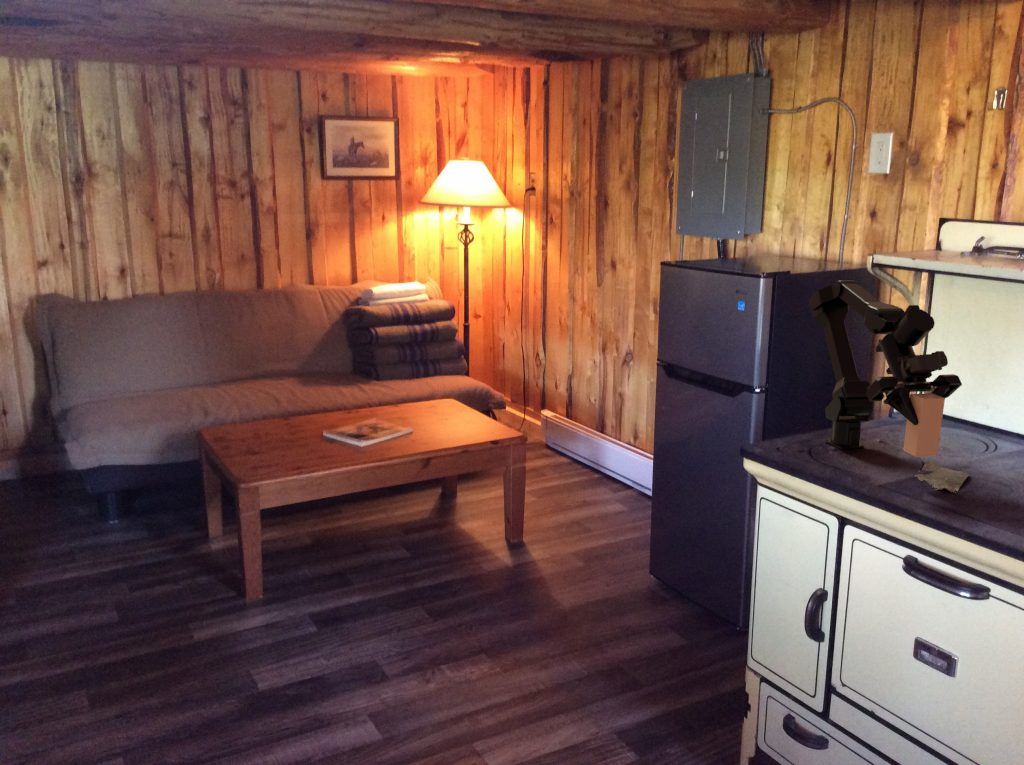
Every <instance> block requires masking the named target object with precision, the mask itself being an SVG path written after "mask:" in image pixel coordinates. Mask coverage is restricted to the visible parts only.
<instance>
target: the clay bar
mask: <svg viewBox="0 0 1024 765" xmlns="http://www.w3.org/2000/svg"><path fill="white" fill-rule="evenodd" d="M910 400H911V402H912V405H913V407H914V410H915V412H916V415H917V418H918V422H919V423H918V424H917V425H914V424H912V423H911V422H910V421H909V420H908V419H907V418H906V425H905V433H904V441H903V452H905V453H907V454H909V455H912V456H913V457H915V458H916V457H931V456H932V457H933V456H935V457H936V456H938V452H939V451H938V450H939V445H940V439H941V438H940V437H941V430H942V424H943V415H944V408H945V402H946V401H945V400H946V398H943V397H940V396H938V395H935V394H932V393H927V394H924V393H910Z"/></svg>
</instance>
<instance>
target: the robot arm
mask: <svg viewBox="0 0 1024 765" xmlns="http://www.w3.org/2000/svg"><path fill="white" fill-rule="evenodd" d="M808 306H809V309H810V311H811V314H812V318H813V320H814V321H816V322H817V324H818V325H820V327H822V328H823V333H824V335H825V339H826V344H827V348H828V353H829V356H830V360H831V365H832V370H833V373H834V374H833V375H834V377H835V382H836V383H835V386H834V389H833V391H832V393H831V394H832V395H831V396H832V400H831V401H830V403H829V404H828V405H827V406H826V407H825V409H824V412H825V418H826V419H828V420H829V421H831V423H832V424H831V425H832V426H831V435H830V439H825V441H824V442H825V443H826V444H829V445H831V446H833V447H836V448H837V449H839V450H850V449H860V448H861V449H862V448H865V444H862V443H861V434H862V429H861V427H862V422H869V421H870V418H871V415H872V413H873V410H874V408H875V402H881V401H883V404H884V405H888V406H890V407H891V408H892V409H894V410H895V411H896V412H898V413H899V414H901V415H902V416H903V417H904V419H906V420H907V419H908V420H909V421H910V422H911V423H912V424H914V425H917V424H918V423H919V422H918V418H917V415H916V412H915V410H914V407H913V405H912V402H911V400H910V394H911V393H915V392H916V393H919V392H922V394H927V393H932V394H935V395H938V396H940V397H943V398H945V399H947V398H949V397H950V396H952V395H953V394H954V393H955V392H956V391H957V390H958V389H959V388H960V387H961V386H962V385H963V384H962V382H961V379H960V377H959V375H958V374H957V375H956V374H954V373H951V374H948V373H947V374H939V375H938V376H937V377H935V378H934V380H932V381H927V379H930V378H931V377H932V376H933V374H932V372H936V371H941V370H943V367H947V366H948V364H949V360H948V357H947V355H946V353H945V351H943V350H940V351H939V350H936V351H935V352H931V353H928V354H927V353H924V354H916V352H915V350H914V348H913V347H916V346H918V345H919V344H920V343H921V342H922V341H923V339H925V337H927V335H928V334H929V333H930V332H931V331H932V330H933V329H934V328H935V322H936V321H935V320H934V317H933V316H931V314H930V313H929V312H927V311H926V310H923V309H921V308H920V306H919V305H918V304H909V305H908V307H907V308H906V309H905V310H904V309H903V308H901V307H899V306H897V305H894V304H889V303H886V302H885V303H884V302H882V301H880V300H879V299H878V298H876V297H875V296H874V295H872V294H871V293H870V292H868V291H867V290H866V289H864V288H863V287H862V286H860V284H859V282H858V281H856V280H853V279H851V280H850V279H849V280H848V279H846V280H845V279H842V280H841V279H840V280H837V281H834V282H833V283H831V284H829V285H828V286H825V287H823V288H820V289H818V290H816V291H815V292H814V293H813V294H812V295H811V296H810V297H809V301H808ZM849 307H850V308H851V309H853V311H855V312H856V313H858V315H860V316H861V317H862V318H863V325H864V326H865V328H866V329H867V331H868V332H869V333H870V334H871V335H884V336H883V337H882V339H879V340H878V343H877V344H876V346H875V353H882V354H883V356H884V358H885V361H886V364H887V365H888V367H887V368H886V370H885V371H886V375H888V376H877V378H875V380H873V381H872V383H870V382H869V381H868V380H862V379H861V378H860V377H859V374H858V371H857V366H856V363H855V358H854V355H853V350H852V346H851V343H850V340H849V339H850V338H849V336H848V331H847V327H846V322H845V321H846V318H847V316H848V313H849V311H850V310H849V309H850V308H849ZM889 375H892V376H889ZM884 394H885V395H884ZM885 397H886V398H885ZM884 398H885V399H884Z"/></svg>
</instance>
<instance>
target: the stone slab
mask: <svg viewBox="0 0 1024 765" xmlns="http://www.w3.org/2000/svg"><path fill="white" fill-rule="evenodd" d="M921 470H922V471H926V472H930V473H927V474H926V473H925V474H924V473H920V472H921ZM921 470H918V474H915V475H914V477H916V478H917V479H918V480H919V481H921V482H922V481H926V482H927V484H928V485H929V486H931V485H932V486H931V488H933V487H934V488H937V489H935V491H938V490H944V489H946V490H948V491H949V492H950V493H952V492H954V491H955V490H956V491H957V492H958V491H959V490H960V487H962V485H963V483H964V482H965V481H966V479H967V478H968V477H970V476H971V474H970V473H968V472H965V471H964V470H963V471H962V470H954V469H951V468H947V467H943V466H942V465H940V463H938V462H937V461H935V460H927V461H926V462H925V463H924V464H923V466H922V468H921ZM919 473H920V474H919ZM955 494H957V493H956V492H955Z"/></svg>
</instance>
